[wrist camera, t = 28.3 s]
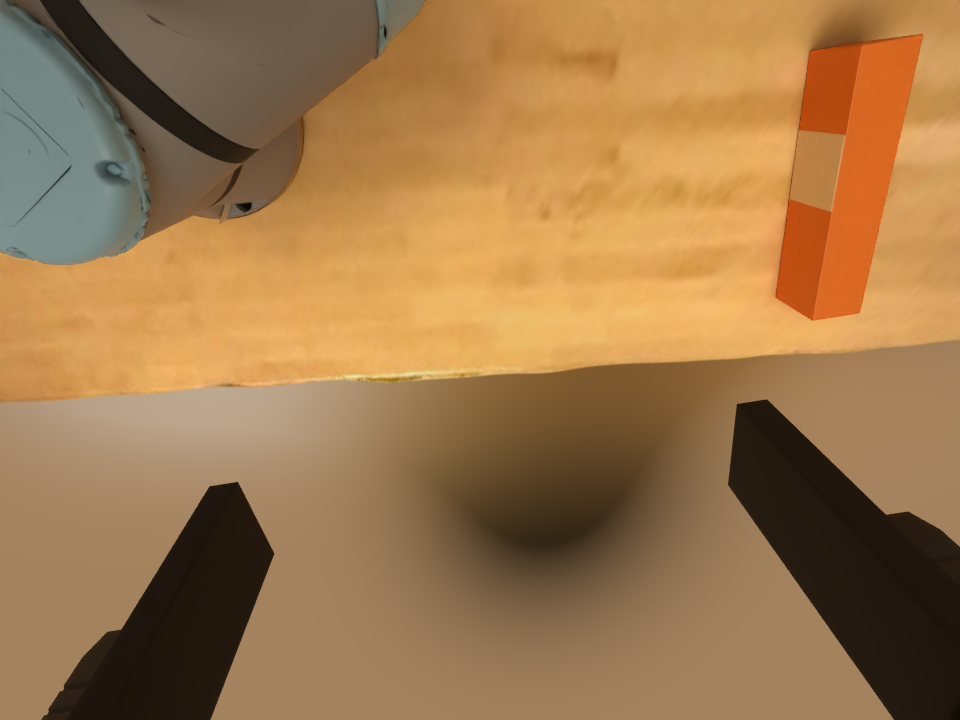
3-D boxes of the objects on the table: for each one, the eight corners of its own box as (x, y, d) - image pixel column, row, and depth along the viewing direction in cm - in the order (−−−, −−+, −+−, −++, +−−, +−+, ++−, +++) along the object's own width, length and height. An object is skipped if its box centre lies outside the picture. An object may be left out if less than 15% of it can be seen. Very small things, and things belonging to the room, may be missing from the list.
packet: (818, 290, 51) (860, 313, 46) (774, 297, 52) (811, 321, 46) (863, 41, 41) (924, 33, 36) (808, 51, 41) (861, 44, 36)
